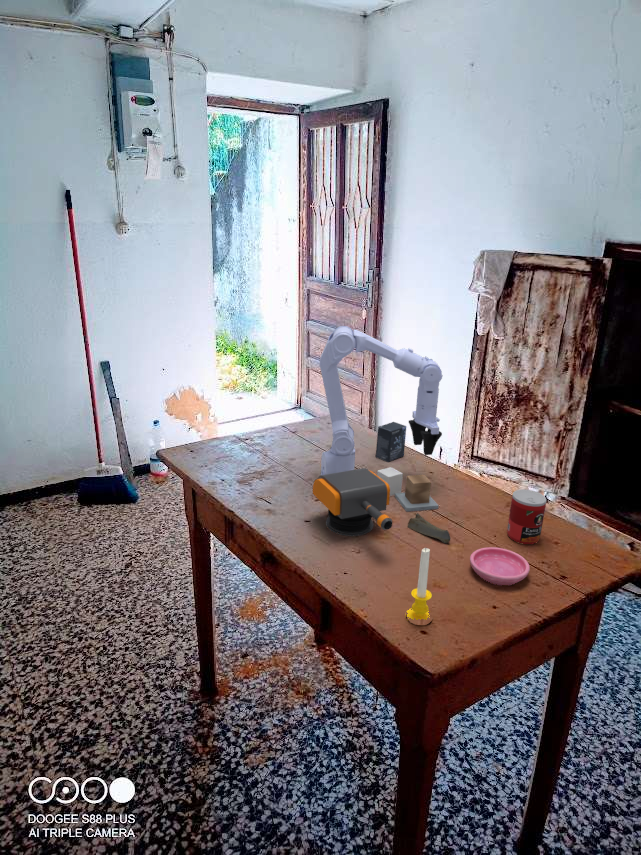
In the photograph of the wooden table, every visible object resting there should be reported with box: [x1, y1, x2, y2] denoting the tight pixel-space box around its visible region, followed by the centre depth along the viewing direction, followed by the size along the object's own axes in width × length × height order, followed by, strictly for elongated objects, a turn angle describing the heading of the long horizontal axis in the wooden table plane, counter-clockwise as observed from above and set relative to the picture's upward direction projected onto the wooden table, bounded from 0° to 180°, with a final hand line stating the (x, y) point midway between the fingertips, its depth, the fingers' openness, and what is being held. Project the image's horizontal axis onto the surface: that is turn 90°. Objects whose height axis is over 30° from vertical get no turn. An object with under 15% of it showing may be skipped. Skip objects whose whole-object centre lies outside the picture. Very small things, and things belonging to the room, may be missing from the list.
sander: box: [312, 467, 393, 537], centre depth 142 cm, size 15×25×13 cm, turn 25°
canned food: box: [506, 489, 547, 545], centre depth 143 cm, size 8×8×11 cm
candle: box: [406, 547, 433, 620], centre depth 112 cm, size 5×5×16 cm
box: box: [375, 421, 407, 463], centre depth 189 cm, size 8×6×11 cm
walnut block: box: [404, 474, 432, 504], centre depth 159 cm, size 5×5×6 cm
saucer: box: [469, 546, 531, 586], centre depth 129 cm, size 12×12×3 cm
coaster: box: [394, 491, 439, 513], centre depth 160 cm, size 9×9×1 cm
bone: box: [407, 513, 451, 544], centre depth 145 cm, size 13×5×4 cm, turn 30°
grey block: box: [376, 466, 404, 497], centre depth 166 cm, size 5×5×6 cm
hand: (422, 449), depth 169 cm, fingers open, 7 cm apart
